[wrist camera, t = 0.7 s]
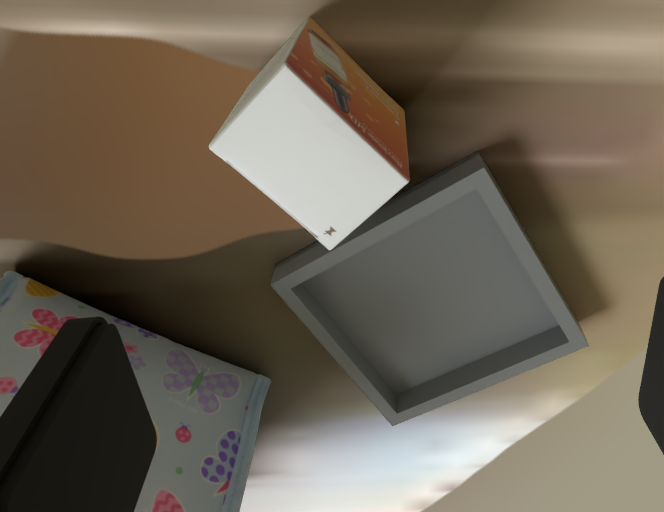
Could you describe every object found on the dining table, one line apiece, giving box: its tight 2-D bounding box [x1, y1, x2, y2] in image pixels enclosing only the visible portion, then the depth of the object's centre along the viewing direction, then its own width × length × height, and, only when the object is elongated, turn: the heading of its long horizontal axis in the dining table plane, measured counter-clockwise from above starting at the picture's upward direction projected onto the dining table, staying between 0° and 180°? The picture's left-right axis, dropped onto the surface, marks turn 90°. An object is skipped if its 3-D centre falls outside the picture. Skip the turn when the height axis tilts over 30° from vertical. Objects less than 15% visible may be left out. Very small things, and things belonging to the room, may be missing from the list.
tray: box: [270, 151, 589, 426], centre depth 42 cm, size 16×16×3 cm
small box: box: [209, 18, 410, 250], centre depth 32 cm, size 8×6×10 cm
